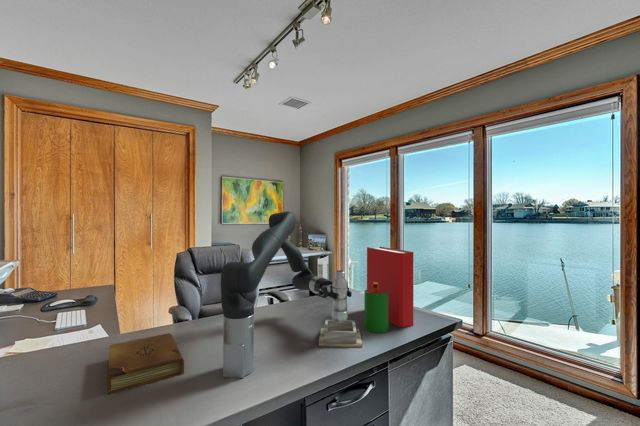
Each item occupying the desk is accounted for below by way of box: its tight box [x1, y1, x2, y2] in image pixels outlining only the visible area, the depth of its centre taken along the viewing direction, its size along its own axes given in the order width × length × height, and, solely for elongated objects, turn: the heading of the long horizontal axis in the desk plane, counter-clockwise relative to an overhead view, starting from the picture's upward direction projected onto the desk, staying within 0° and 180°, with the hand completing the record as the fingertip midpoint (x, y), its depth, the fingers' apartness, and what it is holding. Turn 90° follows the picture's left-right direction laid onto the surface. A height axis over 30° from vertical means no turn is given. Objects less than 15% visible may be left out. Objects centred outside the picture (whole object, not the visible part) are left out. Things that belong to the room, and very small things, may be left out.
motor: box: [363, 282, 390, 334], centre depth 129 cm, size 10×9×20 cm
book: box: [366, 246, 414, 328], centre depth 144 cm, size 27×8×32 cm, turn 23°
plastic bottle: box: [331, 269, 349, 323], centre depth 119 cm, size 6×7×20 cm
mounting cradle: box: [318, 319, 363, 348], centre depth 119 cm, size 16×16×5 cm
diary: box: [107, 332, 185, 395], centre depth 96 cm, size 23×19×6 cm
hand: (343, 295), depth 117 cm, fingers closed on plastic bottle, 6 cm apart
